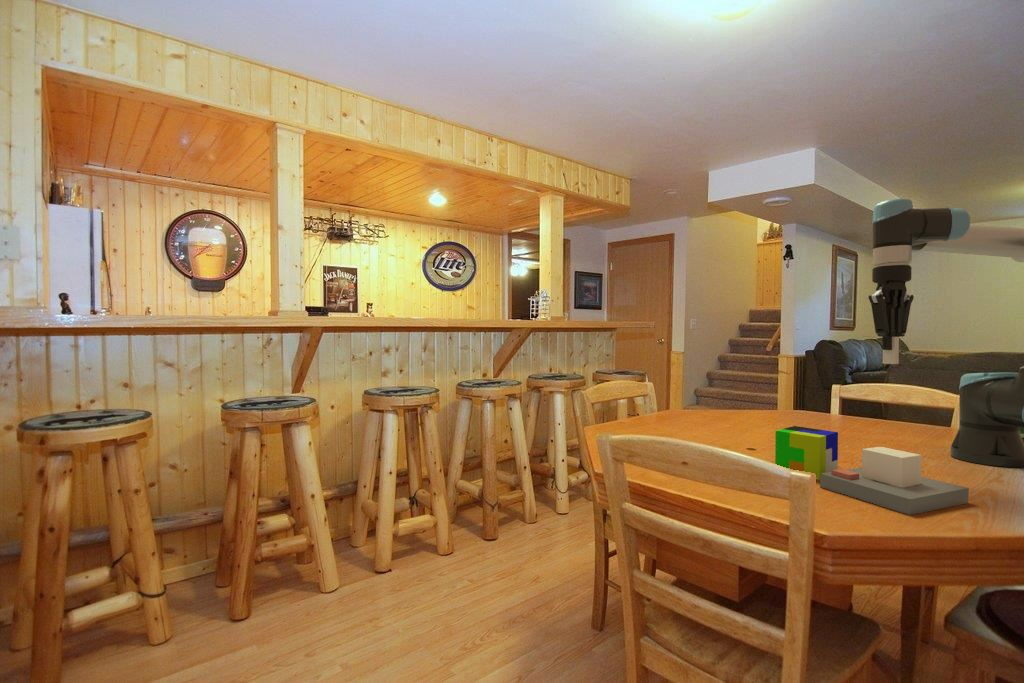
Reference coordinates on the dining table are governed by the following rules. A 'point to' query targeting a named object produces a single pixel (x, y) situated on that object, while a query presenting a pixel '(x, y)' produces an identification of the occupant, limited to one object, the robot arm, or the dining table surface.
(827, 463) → the puzzle toy
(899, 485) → the plug
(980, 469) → the dining table surface
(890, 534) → the dining table surface
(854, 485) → the socket plate
